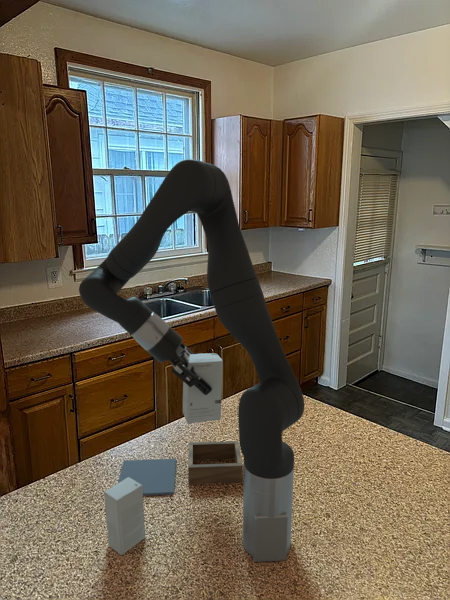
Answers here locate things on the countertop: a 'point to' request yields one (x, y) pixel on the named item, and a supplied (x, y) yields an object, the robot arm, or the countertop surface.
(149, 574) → the countertop surface
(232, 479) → the holder collar
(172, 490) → the slate mat
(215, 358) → the skincare box
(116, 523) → the skincare box
